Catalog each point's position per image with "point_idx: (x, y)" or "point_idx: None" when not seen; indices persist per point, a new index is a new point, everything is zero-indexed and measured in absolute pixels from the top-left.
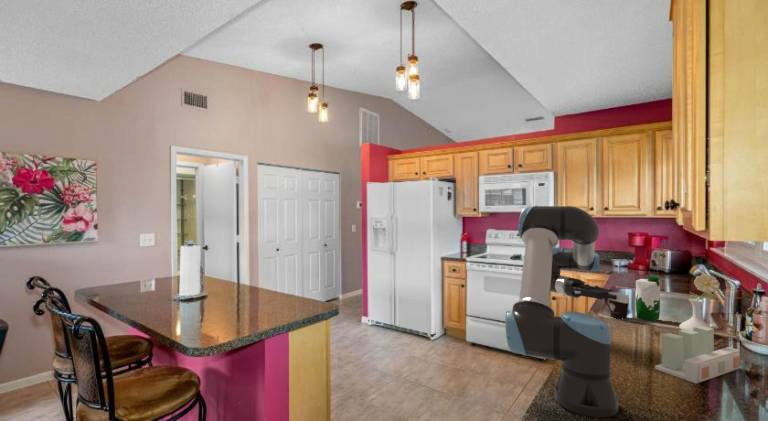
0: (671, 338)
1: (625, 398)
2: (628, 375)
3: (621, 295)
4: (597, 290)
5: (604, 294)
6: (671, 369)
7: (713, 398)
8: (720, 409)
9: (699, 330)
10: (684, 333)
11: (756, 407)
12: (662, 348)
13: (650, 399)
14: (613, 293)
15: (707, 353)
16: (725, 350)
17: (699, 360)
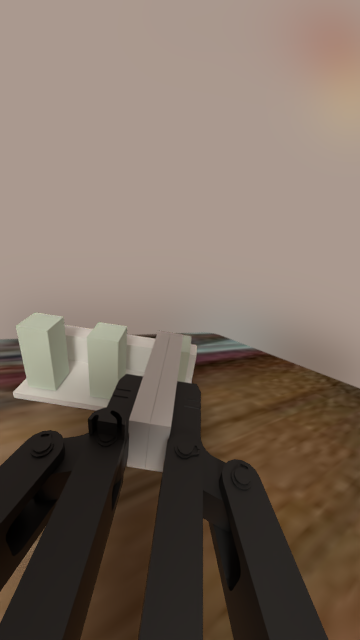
0: (190, 342)
1: (352, 410)
2: (278, 443)
3: (180, 352)
4: (166, 603)
5: (213, 458)
6: None
7: (220, 355)
8: (242, 349)
9: (55, 328)
10: (122, 336)
11: (198, 334)
12: (184, 379)
13: (311, 391)
14: (175, 390)
15: None
16: (74, 332)
17: None
